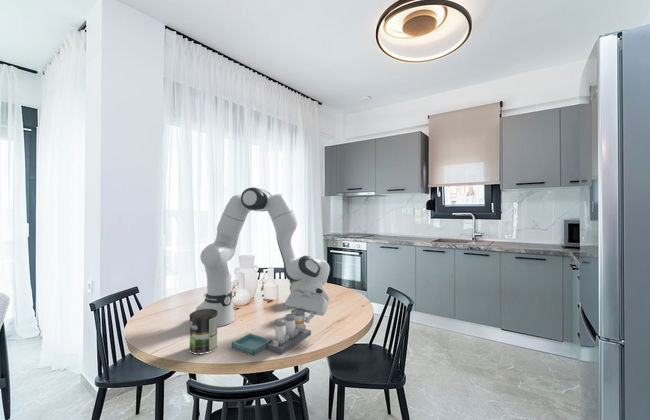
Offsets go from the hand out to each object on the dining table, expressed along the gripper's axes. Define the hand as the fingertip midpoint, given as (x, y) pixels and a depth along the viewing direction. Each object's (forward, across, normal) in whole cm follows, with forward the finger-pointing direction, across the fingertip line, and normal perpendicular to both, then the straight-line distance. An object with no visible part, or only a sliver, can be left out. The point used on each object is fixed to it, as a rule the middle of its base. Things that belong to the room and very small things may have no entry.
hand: (298, 320), depth 126 cm
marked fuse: (+3, 0, +4) cm, 5 cm away
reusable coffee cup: (-22, -27, +32) cm, 47 cm away
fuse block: (+9, 0, +1) cm, 9 cm away
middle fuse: (+8, 0, -1) cm, 8 cm away
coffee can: (+25, -26, -15) cm, 39 cm away
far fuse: (+12, 0, -5) cm, 13 cm away
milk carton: (-9, -14, +19) cm, 26 cm away
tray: (+17, -11, -7) cm, 21 cm away
